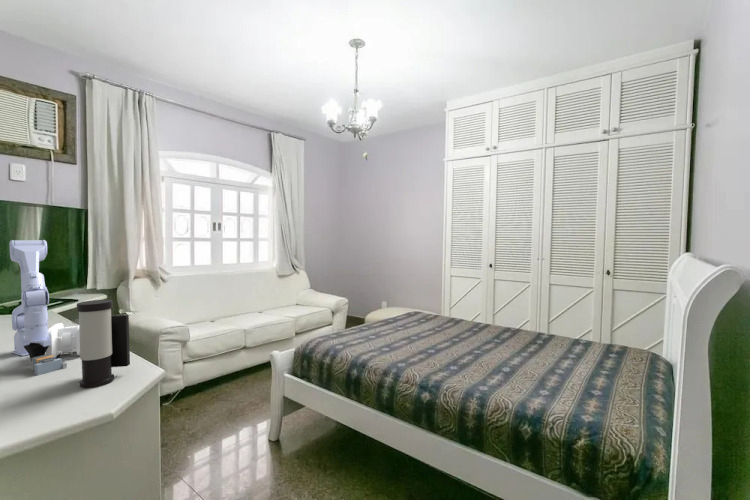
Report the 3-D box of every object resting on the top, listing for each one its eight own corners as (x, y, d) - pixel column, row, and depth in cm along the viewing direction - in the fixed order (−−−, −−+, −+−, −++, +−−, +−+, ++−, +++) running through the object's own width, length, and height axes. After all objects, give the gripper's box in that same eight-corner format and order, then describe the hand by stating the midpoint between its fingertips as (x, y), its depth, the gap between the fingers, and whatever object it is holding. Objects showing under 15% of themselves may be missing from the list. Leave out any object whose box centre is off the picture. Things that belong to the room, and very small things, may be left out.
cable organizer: (82, 358, 127) (81, 326, 127) (43, 363, 122) (42, 330, 122) (91, 347, 140) (90, 318, 140) (56, 351, 135) (55, 322, 135)
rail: (36, 361, 124) (36, 356, 124) (39, 360, 125) (39, 355, 125) (63, 368, 117) (62, 364, 117) (66, 367, 118) (66, 363, 118)
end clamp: (34, 374, 112) (34, 362, 112) (59, 367, 118) (58, 356, 118) (37, 375, 111) (37, 363, 111) (62, 368, 117) (61, 357, 117)
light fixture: (65, 390, 100) (62, 305, 99) (88, 375, 111) (86, 299, 110) (112, 386, 103) (109, 303, 102) (130, 372, 113) (128, 297, 112)
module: (31, 369, 116) (31, 357, 116) (47, 365, 120) (47, 353, 120) (40, 372, 114) (40, 360, 113) (56, 368, 117) (55, 356, 117)
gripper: (10, 325, 118) (11, 365, 118) (31, 330, 111) (32, 371, 112) (37, 321, 124) (38, 358, 124) (58, 325, 118) (59, 364, 118)
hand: (37, 364), depth 119 cm, fingers closed
